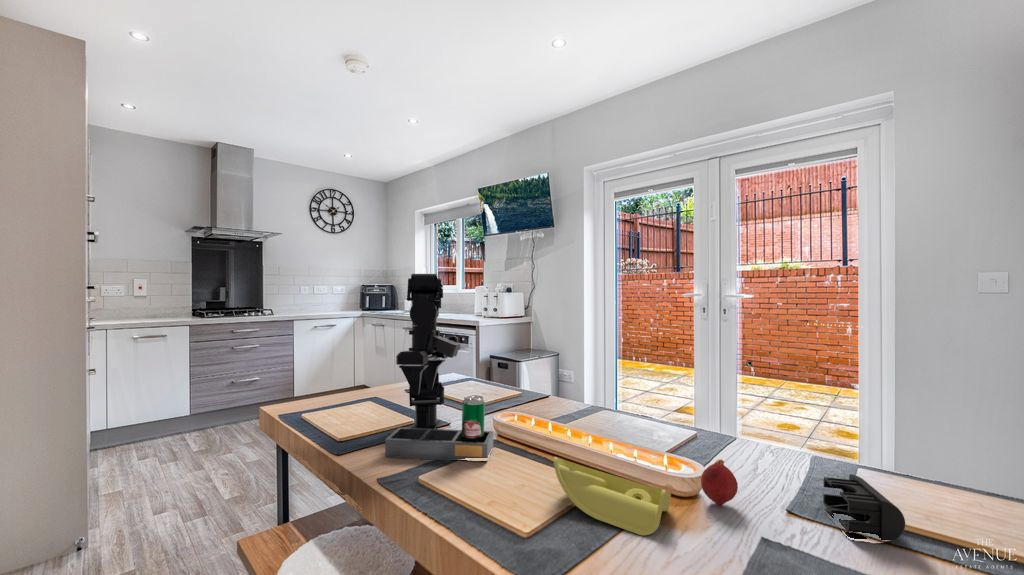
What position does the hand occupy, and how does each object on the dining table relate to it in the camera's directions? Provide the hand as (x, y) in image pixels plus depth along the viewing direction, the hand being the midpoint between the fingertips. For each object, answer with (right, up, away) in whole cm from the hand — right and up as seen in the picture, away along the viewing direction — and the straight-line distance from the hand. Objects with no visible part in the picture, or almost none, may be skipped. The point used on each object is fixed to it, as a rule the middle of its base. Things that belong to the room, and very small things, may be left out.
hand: (423, 392), depth 106 cm
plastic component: (+38, -14, -28) cm, 49 cm away
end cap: (+77, -14, -34) cm, 85 cm away
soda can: (+12, -12, -4) cm, 18 cm away
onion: (+57, -14, -27) cm, 65 cm away
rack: (+5, -13, -4) cm, 14 cm away
